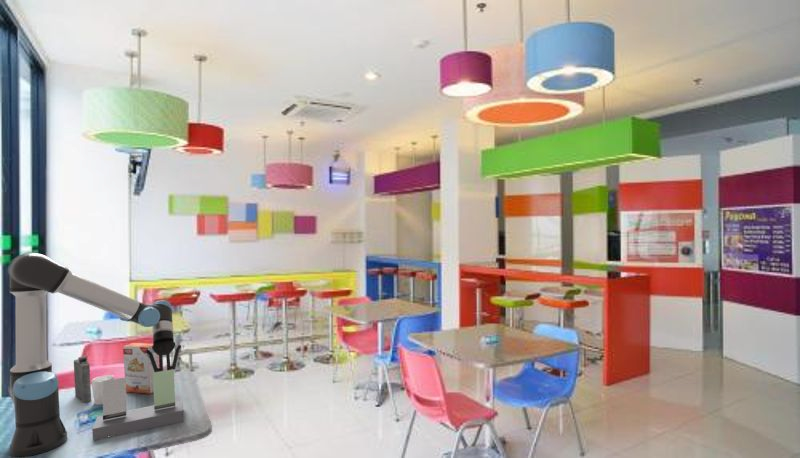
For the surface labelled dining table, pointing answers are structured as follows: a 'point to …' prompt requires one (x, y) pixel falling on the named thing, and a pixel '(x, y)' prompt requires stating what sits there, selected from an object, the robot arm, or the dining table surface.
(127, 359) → the cracker box
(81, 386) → the flask
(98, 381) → the white cup
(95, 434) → the panel
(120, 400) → the light grey rectangular slab
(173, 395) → the pale green flat slab
